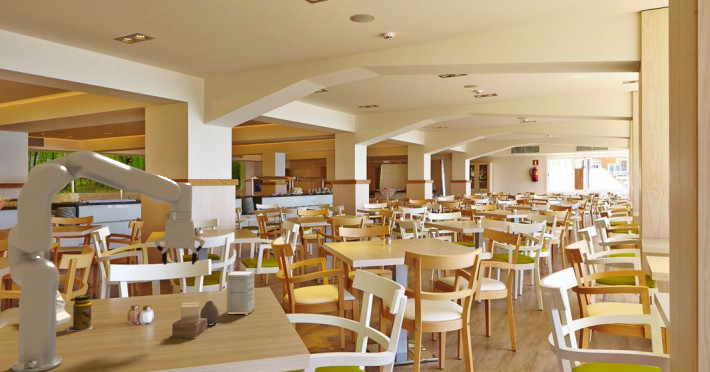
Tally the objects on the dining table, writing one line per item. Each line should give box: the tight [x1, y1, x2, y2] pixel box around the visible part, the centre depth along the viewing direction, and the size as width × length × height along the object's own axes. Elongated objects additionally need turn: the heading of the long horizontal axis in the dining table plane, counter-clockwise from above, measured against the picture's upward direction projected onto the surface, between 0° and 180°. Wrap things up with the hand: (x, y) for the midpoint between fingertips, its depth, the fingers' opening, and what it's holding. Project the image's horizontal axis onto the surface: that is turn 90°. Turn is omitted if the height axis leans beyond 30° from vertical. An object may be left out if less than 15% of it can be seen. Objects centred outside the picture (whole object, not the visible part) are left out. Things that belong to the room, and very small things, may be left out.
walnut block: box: [171, 318, 208, 338], centre depth 188 cm, size 9×9×5 cm
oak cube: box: [180, 302, 201, 324], centre depth 188 cm, size 6×6×6 cm
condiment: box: [65, 294, 94, 333], centre depth 195 cm, size 7×8×12 cm
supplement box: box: [226, 270, 255, 313], centre depth 221 cm, size 10×9×17 cm
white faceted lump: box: [56, 290, 72, 326], centre depth 204 cm, size 12×15×14 cm
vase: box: [200, 300, 220, 324], centre depth 202 cm, size 7×7×9 cm
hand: (179, 264), depth 188 cm, fingers open, 9 cm apart
